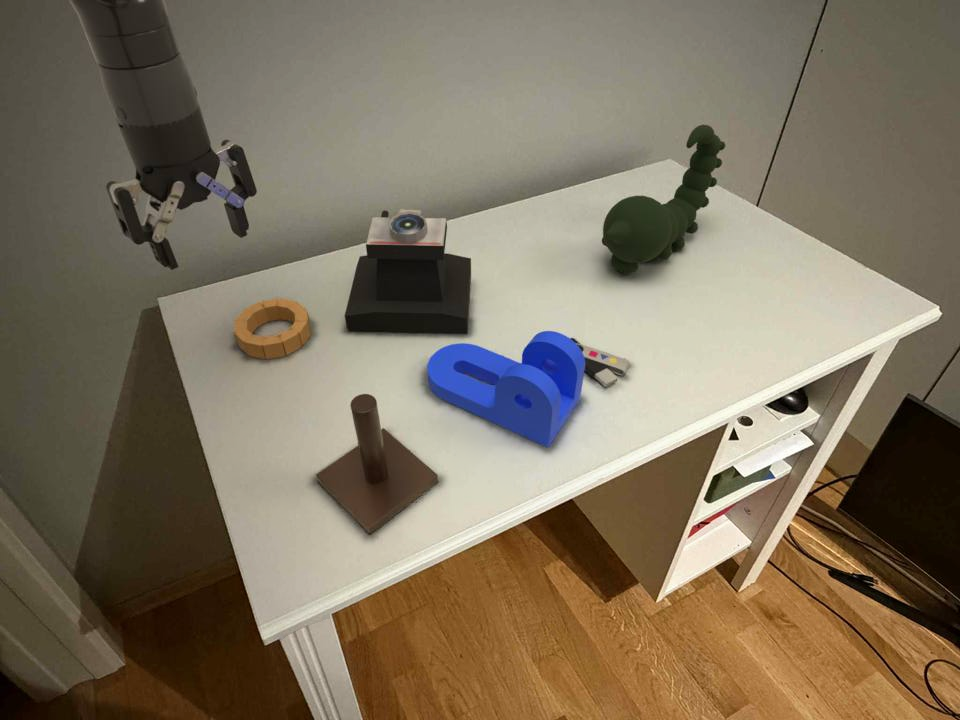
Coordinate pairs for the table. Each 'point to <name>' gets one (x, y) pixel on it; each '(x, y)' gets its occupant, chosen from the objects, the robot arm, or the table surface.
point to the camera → (409, 279)
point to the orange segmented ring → (276, 343)
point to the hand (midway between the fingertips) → (206, 249)
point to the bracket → (513, 384)
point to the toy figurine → (663, 211)
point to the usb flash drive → (602, 364)
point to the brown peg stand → (375, 471)
